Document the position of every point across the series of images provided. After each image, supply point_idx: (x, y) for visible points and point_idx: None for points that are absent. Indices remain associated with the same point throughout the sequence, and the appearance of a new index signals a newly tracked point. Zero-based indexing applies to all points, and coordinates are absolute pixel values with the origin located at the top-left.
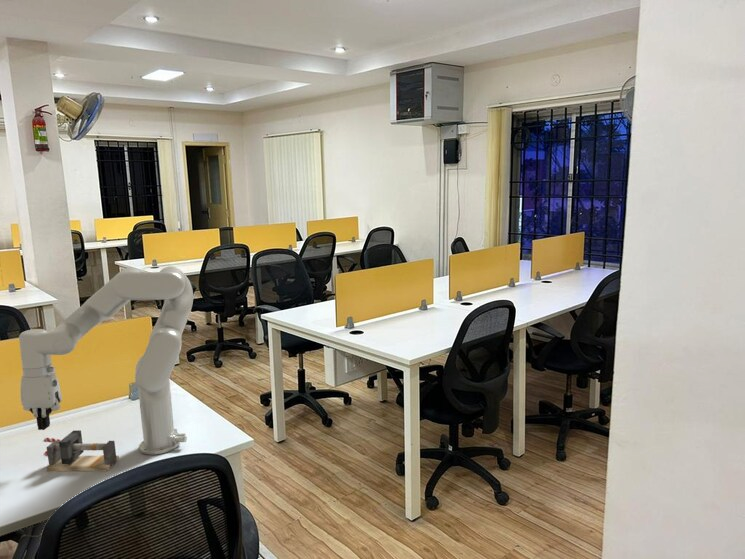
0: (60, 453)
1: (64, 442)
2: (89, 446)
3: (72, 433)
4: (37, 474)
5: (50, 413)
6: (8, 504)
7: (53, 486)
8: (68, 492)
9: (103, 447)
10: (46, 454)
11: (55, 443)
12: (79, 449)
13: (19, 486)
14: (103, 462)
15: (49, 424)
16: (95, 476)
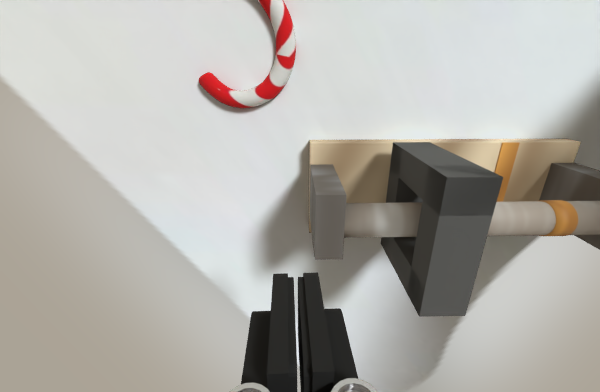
0: (396, 272)
1: (450, 314)
2: (531, 234)
3: (458, 220)
4: (289, 244)
5: (371, 387)
6: None
7: (386, 303)
8: (446, 327)
9: None
10: (220, 101)
11: (339, 222)
12: None
13: None
14: (526, 198)
15: (339, 311)
16: (501, 254)
